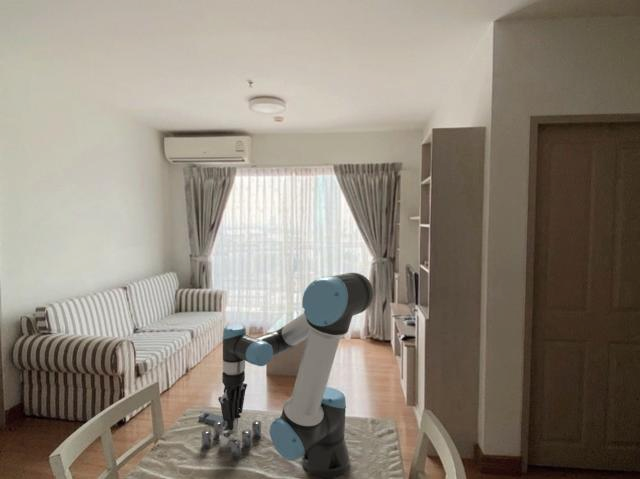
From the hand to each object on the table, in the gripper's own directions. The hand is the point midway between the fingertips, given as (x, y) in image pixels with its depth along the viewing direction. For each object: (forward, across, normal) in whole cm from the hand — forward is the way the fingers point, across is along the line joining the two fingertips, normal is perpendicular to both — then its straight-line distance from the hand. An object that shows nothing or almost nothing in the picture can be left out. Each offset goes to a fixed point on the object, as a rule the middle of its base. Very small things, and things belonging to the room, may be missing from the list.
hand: (232, 436), depth 122 cm
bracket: (+2, -6, -14) cm, 16 cm away
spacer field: (+2, 0, 0) cm, 2 cm away
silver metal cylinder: (+2, +3, 0) cm, 4 cm away
